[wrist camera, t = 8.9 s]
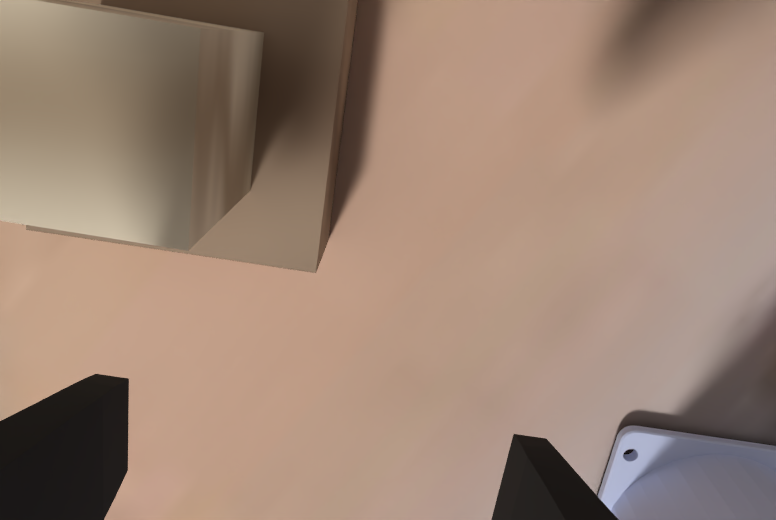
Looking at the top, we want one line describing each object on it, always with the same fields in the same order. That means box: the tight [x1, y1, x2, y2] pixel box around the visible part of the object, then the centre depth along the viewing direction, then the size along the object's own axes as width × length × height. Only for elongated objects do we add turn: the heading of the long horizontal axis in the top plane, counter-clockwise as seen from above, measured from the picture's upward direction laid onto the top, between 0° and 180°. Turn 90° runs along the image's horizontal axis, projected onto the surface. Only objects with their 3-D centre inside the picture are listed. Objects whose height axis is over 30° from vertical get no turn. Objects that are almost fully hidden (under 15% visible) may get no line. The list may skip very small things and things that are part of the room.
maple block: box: [0, 0, 264, 251], centre depth 13 cm, size 4×4×5 cm
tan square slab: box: [26, 0, 358, 273], centre depth 17 cm, size 8×8×3 cm
